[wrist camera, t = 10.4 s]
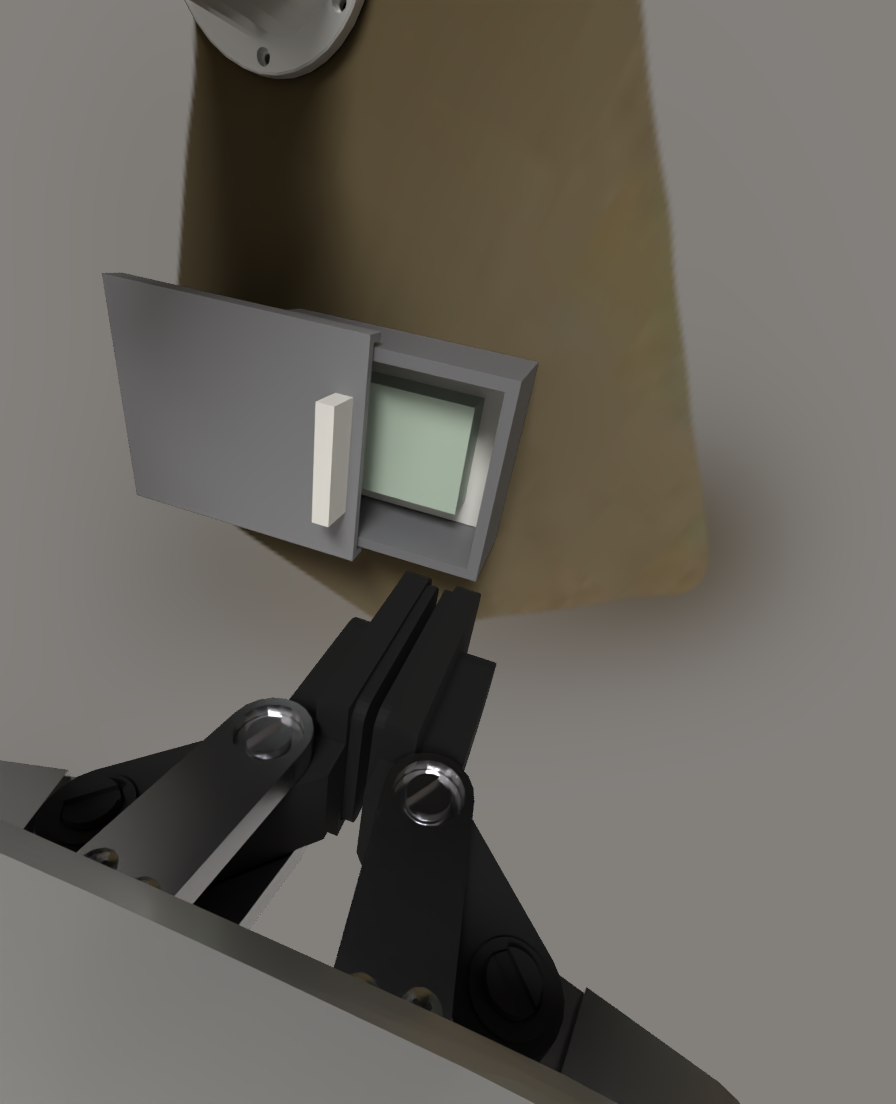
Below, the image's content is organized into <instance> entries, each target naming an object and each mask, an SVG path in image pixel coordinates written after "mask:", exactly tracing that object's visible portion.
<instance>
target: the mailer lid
mask: <svg viewBox="0 0 896 1104" xmlns="http://www.w3.org/2000/svg"><path fill="white" fill-rule="evenodd" d="M102 276H103V283H104V289H105V295H106V302H107V307H108V314H109V320H110V327H111V333H112V340H113V346H114V352H115V358H116V365H117V370H118V377H119V384H120V390H121V396H122V402H123V409H124V415H125V421H126V428H127V433H128V441H129V447H130V453H131V460H132V466H133V472H134V479H135V485H136V491H137V495H139V496H142V497H146V498H149V499H152V500H155V501H159V502H162V503H165V504H168V505H171V506H175V507H178V508H181V509H184V510H188V511H191V512H194V513H197V514H201V515H204V516H208V517H211V518H214V519H217V520H220V521H224V522H227V523H230V524H233V525H236V526H240V527H243V528H246V529H249V530H253V531H256V532H259V533H262V534H266V535H269V536H272V537H275V538H279V539H282V540H285V541H288V542H292V543H295V544H298V545H301V546H305V547H308V548H311V549H314V550H318V551H321V552H324V553H327V554H331V555H334V556H337V557H340V558H344V559H347V560H350V561H353V560H354V559H355V558H356V557H357V555H358V554H359V553H360V552H361V551H362V547H359V546H357V538H358V526H359V514H360V502H361V490H362V478H363V466H364V454H365V442H366V430H367V418H368V407H369V395H370V383H371V371H372V359H373V347H374V342H377V341H380V340H381V332H380V331H375V330H371V329H367V328H362V327H358V326H354V325H349V324H345V323H340V322H336V321H332V320H327V319H323V318H318V317H314V316H310V315H305V314H301V313H296V312H292V311H288V310H283V309H279V308H275V307H270V306H266V305H261V304H257V303H253V302H248V301H244V300H239V299H235V298H231V297H226V296H222V295H218V294H213V293H209V292H204V291H200V290H196V289H191V288H187V287H182V286H178V285H174V284H169V283H165V282H160V281H156V280H152V279H147V278H143V277H138V276H134V275H130V274H125V273H102Z"/></svg>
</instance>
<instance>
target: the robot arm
mask: <svg viewBox="0 0 896 1104" xmlns="http://www.w3.org/2000/svg"><path fill="white" fill-rule="evenodd" d="M364 1H365V0H185V2H186V4H187V6H188V8H189V10H190V12H191V14H192V15H193V17H194V19H195V21H196V23H197V24H198V26H199V27H200V28H201V30H202V31H203V32H204V34H205V35H206V36H207V38H208V39H209V41H210V42H211V43H212V44H213V45H214V46H215V47H216V48H217V49H218V50H219V51H220V52H221V53H222V54H223V55H224V56H225V57H227V58H228V59H230V60H231V61H233V62H234V63H236V64H238V65H239V66H241V67H242V68H244V69H246V70H248V71H250V72H253V73H255V74H257V75H259V76H264V77H268V78H273V79H289V78H296V77H299V76H302V75H304V74H307V73H310V72H312V71H313V70H315V69H316V68H318V67H319V66H321V65H322V64H324V63H325V62H327V61H328V59H329V58H330V57H331V56H332V55H333V54H334V53H335V52H336V51H337V50H338V49H339V48H340V47H341V46H342V44H343V42H344V41H345V39H346V38H347V36H348V34H349V33H350V31H351V30H352V28H353V26H354V25H355V22H356V20H357V17H358V15H359V13H360V10H361V8H362V5H363V3H364ZM346 2H347V3H346ZM345 3H346V8H345V9H344V10H343V5H344V4H345ZM269 58H270V61H269ZM431 584H432V580H431V578H428V577H425V576H421V575H418V574H415V573H412V572H406V573H405V574H404V575H403V577H402V578H401V580H400V581H399V582H398V584H397V585H396V587H395V588H394V590H393V591H392V592H391V594H390V595H389V597H388V598H387V599H386V601H385V602H384V604H383V605H382V606H381V608H380V609H379V611H378V612H377V614H376V615H375V616H374V618H373V619H372V621H371V622H369V621H366V620H363V619H360V618H357V617H355V618H353V619H352V620H351V621H350V622H349V623H348V624H347V625H346V627H345V628H344V629H343V630H342V632H341V633H340V634H339V636H338V637H337V638H336V639H335V641H334V642H333V644H332V645H331V646H330V647H329V649H328V650H327V651H326V652H325V654H324V655H323V657H322V658H321V659H320V660H319V662H318V663H317V664H316V665H315V667H314V668H313V669H312V671H311V672H310V673H309V675H308V676H307V677H306V678H305V680H304V681H303V683H302V684H301V685H300V686H299V688H298V689H297V690H296V691H295V693H294V695H293V696H292V697H291V698H290V699H289V700H288V699H283V698H267V699H260V700H257V701H254V702H252V703H249V704H246V705H245V706H244V707H242V708H240V709H239V710H238V711H236V712H235V713H234V714H232V715H231V716H230V717H229V718H228V719H227V720H226V721H225V722H223V723H222V724H221V725H220V726H219V727H218V728H217V729H215V730H214V731H213V732H212V733H211V734H210V735H209V736H208V737H206V738H205V739H204V740H203V741H200V742H196V743H192V744H189V745H185V746H181V747H178V748H174V749H171V750H167V751H163V752H160V753H156V754H152V755H148V756H145V757H141V758H138V759H134V760H131V761H127V762H123V763H119V764H116V765H112V766H108V767H105V768H101V769H97V770H94V771H91V772H89V773H86V774H83V775H81V776H78V777H71V776H70V774H69V771H68V770H65V769H57V768H50V767H43V766H36V765H29V764H22V763H15V762H7V761H0V1104H740V1103H739V1101H738V1100H737V1099H736V1098H735V1097H734V1096H733V1095H732V1094H731V1093H730V1092H729V1091H727V1089H726V1088H725V1087H723V1086H722V1085H721V1084H720V1083H719V1082H718V1081H717V1080H715V1079H714V1078H712V1077H711V1076H710V1075H708V1074H707V1073H706V1072H704V1071H703V1070H701V1069H700V1068H698V1067H697V1066H696V1065H694V1064H693V1063H692V1062H690V1061H689V1060H687V1059H686V1058H685V1057H683V1056H682V1055H680V1054H679V1053H678V1052H676V1051H675V1050H673V1049H672V1048H671V1047H669V1046H668V1045H667V1044H665V1043H664V1042H662V1041H661V1040H660V1039H658V1038H657V1037H655V1036H654V1035H653V1034H651V1033H650V1032H649V1031H647V1030H646V1029H644V1028H643V1027H642V1026H640V1025H639V1024H637V1023H636V1022H635V1021H633V1020H632V1019H630V1018H629V1017H628V1016H626V1015H625V1014H623V1013H622V1012H621V1011H619V1010H618V1009H617V1008H615V1007H614V1006H612V1005H611V1004H609V1003H608V1002H607V1001H605V1000H604V999H603V998H601V997H600V996H598V995H597V994H595V993H594V992H593V991H591V990H590V989H588V988H587V987H586V988H585V990H584V991H583V992H582V991H581V990H579V989H578V988H576V987H575V986H574V985H573V984H571V983H570V982H568V981H567V980H566V979H564V978H563V977H561V976H560V975H559V974H558V972H557V969H556V967H555V964H554V962H553V960H552V958H551V956H550V955H549V953H548V951H547V949H546V947H545V946H544V944H543V942H542V940H541V939H540V937H539V935H538V933H537V932H536V930H535V928H534V927H533V925H532V923H531V921H530V919H529V918H528V916H527V914H526V912H525V911H524V909H523V907H522V905H521V904H520V902H519V900H518V898H517V897H516V895H515V893H514V891H513V890H512V888H511V886H510V884H509V883H508V881H507V879H506V877H505V876H504V874H503V873H502V870H501V869H500V867H499V865H498V863H497V862H496V860H495V858H494V856H493V855H492V853H491V851H490V849H489V847H488V846H487V844H486V842H485V840H484V839H483V837H482V835H481V834H480V832H479V830H478V828H477V827H476V825H475V823H474V821H473V810H474V788H473V786H472V783H471V781H470V779H469V776H468V775H467V774H466V773H465V771H464V770H465V767H466V763H467V760H468V757H469V754H470V751H471V748H472V744H473V741H474V738H475V735H476V732H477V728H478V725H479V722H480V719H481V716H482V712H483V709H484V706H485V702H486V699H487V695H488V692H489V688H490V685H491V681H492V678H493V674H494V671H495V667H496V663H495V662H492V661H489V660H485V659H483V658H479V657H477V656H473V655H470V654H467V652H468V647H469V643H470V639H471V635H472V631H473V626H474V622H475V618H476V614H477V610H478V606H479V602H480V596H481V594H480V593H477V592H474V591H470V590H467V589H464V588H461V587H456V588H455V589H454V591H453V592H451V591H448V590H445V591H444V592H443V594H442V596H441V598H440V600H439V601H438V603H437V605H436V602H437V597H438V591H439V588H438V587H435V586H431ZM362 806H363V807H362ZM361 808H362V814H361V823H360V830H359V838H358V845H357V854H358V857H359V860H360V862H361V865H362V866H361V870H360V873H359V877H358V881H357V884H356V888H355V892H354V895H353V899H352V902H351V906H350V910H349V913H348V917H347V920H346V924H345V928H344V931H343V935H342V939H341V942H340V946H339V949H338V953H337V957H336V960H335V964H334V967H331V966H329V965H326V964H324V963H322V962H320V961H318V960H315V959H313V958H311V957H309V956H307V955H304V954H302V953H300V952H298V951H296V950H293V949H291V948H289V947H287V946H284V945H282V944H280V943H278V942H276V941H273V940H271V939H269V938H267V937H264V936H262V935H260V934H258V933H255V932H253V931H251V930H250V928H251V927H252V925H253V924H254V923H255V921H256V920H257V919H258V917H259V916H260V915H261V913H262V912H263V910H264V909H265V908H266V906H267V905H268V904H269V902H270V901H271V899H272V898H273V897H274V895H275V894H276V892H277V891H278V890H279V888H280V887H281V886H282V884H283V883H284V882H285V880H286V879H287V877H288V876H289V875H290V873H291V872H292V871H293V869H294V868H295V866H296V865H297V864H298V862H299V861H300V860H301V858H302V856H303V854H304V852H305V851H306V849H307V845H309V844H312V843H314V842H317V841H320V840H322V839H324V837H325V835H326V834H327V832H329V833H331V834H334V835H336V836H337V835H338V833H339V831H340V829H341V827H342V825H343V823H344V821H345V819H346V820H349V821H351V822H354V821H355V820H356V818H357V816H358V814H359V812H360V810H361Z"/></svg>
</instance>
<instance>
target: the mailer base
mask: <svg viewBox="0 0 896 1104" xmlns="http://www.w3.org/2000/svg"><path fill="white" fill-rule="evenodd" d="M288 311H292V312H296V313H301V314H305V315H310V316H314V317H318V318H323V319H327V320H332V321H336V322H340V323H345V324H349V325H354V326H358V327H362V328H367V329H371V330H375V331H380V332H381V340H380V341H377V342H374V347H373V359H372V371H371V383H370V395H369V407H368V418H367V430H366V442H365V454H364V466H363V478H362V490H361V502H360V514H359V526H358V538H357V546H359V547H363V548H366V549H369V550H372V551H376V552H379V553H382V554H386V555H389V556H392V557H396V558H399V559H402V560H406V561H409V562H412V563H416V564H419V565H422V566H425V567H429V568H432V569H435V570H439V571H442V572H445V573H449V574H452V575H455V576H459V577H462V578H465V579H469V580H472V581H475V582H476V580H477V578H478V576H479V574H480V571H481V569H482V567H483V565H484V563H485V561H486V559H487V556H488V554H489V552H490V550H491V548H492V546H493V544H494V541H495V539H496V536H497V532H498V528H499V524H500V520H501V516H502V511H503V507H504V503H505V499H506V495H507V491H508V487H509V482H510V478H511V474H512V470H513V466H514V462H515V457H516V453H517V449H518V445H519V441H520V437H521V433H522V428H523V424H524V420H525V416H526V412H527V408H528V404H529V399H530V395H531V391H532V387H533V383H534V379H535V375H536V370H537V366H538V362H536V361H531V360H527V359H523V358H518V357H514V356H509V355H505V354H500V353H496V352H492V351H487V350H483V349H478V348H474V347H470V346H465V345H461V344H456V343H452V342H447V341H443V340H439V339H434V338H430V337H425V336H421V335H416V334H412V333H408V332H403V331H399V330H394V329H390V328H386V327H381V326H377V325H372V324H368V323H363V322H359V321H355V320H350V319H346V318H341V317H337V316H332V315H328V314H324V313H319V312H315V311H310V310H306V309H302V308H299V309H291V310H288Z"/></svg>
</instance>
